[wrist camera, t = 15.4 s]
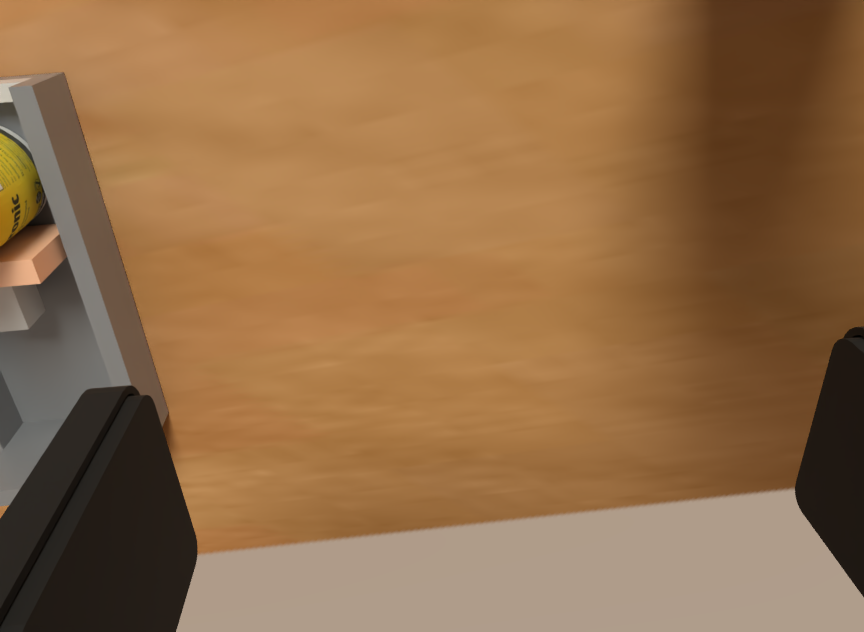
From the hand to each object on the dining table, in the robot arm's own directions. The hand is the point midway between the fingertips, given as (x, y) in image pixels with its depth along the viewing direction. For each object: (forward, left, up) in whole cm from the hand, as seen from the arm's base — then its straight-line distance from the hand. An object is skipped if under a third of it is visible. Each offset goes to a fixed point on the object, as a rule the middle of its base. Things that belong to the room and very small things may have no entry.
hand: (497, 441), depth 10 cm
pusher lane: (+8, -21, -28) cm, 36 cm away
